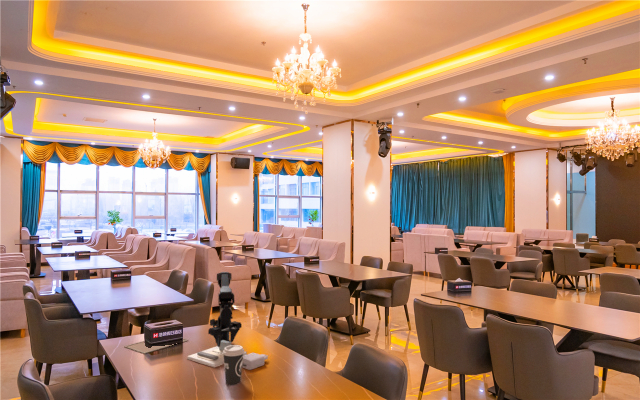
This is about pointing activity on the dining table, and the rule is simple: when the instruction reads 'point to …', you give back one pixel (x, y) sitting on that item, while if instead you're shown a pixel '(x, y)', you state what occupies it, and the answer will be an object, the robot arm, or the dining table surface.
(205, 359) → the board
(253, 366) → the charger
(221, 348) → the cream plate grey block
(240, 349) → the coffee cup
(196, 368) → the dining table surface
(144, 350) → the picture frame
